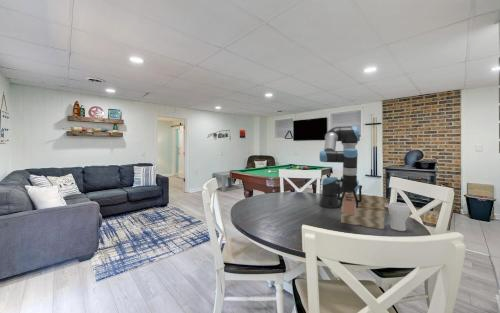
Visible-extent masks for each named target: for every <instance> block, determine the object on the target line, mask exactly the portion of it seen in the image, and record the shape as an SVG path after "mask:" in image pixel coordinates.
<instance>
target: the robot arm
mask: <svg viewBox="0 0 500 313" xmlns="http://www.w3.org/2000/svg"><path fill="white" fill-rule="evenodd" d="M324 140H325V141H324V142H325V143H324V148H323V150H320V151H319V161H320V162H322V163H339V164H340V163H341V164H342V176H340V179H339V178H338V177H333V176H331V177H324V178H323V179H322V183H321V185H322V187H321V190H322V191H321V192H322V193H321V199H320V201H319V205H320V206H321V207H322V208H326V209H338V208H340V207H341V206H342V212H343V198H344V195H345V193H353V194H354V197H355V201H356V202H355V208H354V214H356V208H358V203H359V202H362V195H361V194H362V189H363V185H362V184H359V183H360V182H359V180H358V154H359V153H358V149H357V148H356V146H357V145H358V142H360V140H361V137H360V129H359V127H358V126H351V125H350V126H335V127H332V128H331V129H329V130H328V131H327V132H326V133H325V134H324ZM337 142H341V143H340V144H341V145H342V146H343V147H342V148H343V149H342V150H336V149H337V148H336V146H337ZM342 192H343V194H342ZM356 194H359V200H358V198H357V195H356ZM339 201H340V202H339Z"/></svg>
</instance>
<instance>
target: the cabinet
mask: <svg viewBox="0 0 500 313" xmlns="http://www.w3.org/2000/svg"><path fill="white" fill-rule="evenodd" d="M354 208H355V199H354V196H352V195H345V198H344V200H343V214H349V215H354Z"/></svg>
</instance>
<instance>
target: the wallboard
mask: <svg viewBox="0 0 500 313" xmlns="http://www.w3.org/2000/svg"><path fill="white" fill-rule="evenodd" d="M342 194H343V192H342ZM342 194H341V195H342ZM345 195H352V196H354V194H353V193H345ZM345 195H344V198H345ZM356 195H357V198H358V200H359V193H357V194H356ZM361 195H362V202H359V203H358V208H356V214H354V215H349V214H343V212H342V206H340V223H341V224H342V223H343V224H348V225H354V226H355V225H356V226H360V225H361V226H362V227H368V228H375V229H379V230H380V229H381V230H384V229H385V210H386V209H385V198H386V197H385V196H383V195H372V194H362V193H361ZM344 198H343V200H344ZM354 199H355V197H354ZM355 202H356V201H355Z"/></svg>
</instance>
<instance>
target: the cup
mask: <svg viewBox="0 0 500 313" xmlns="http://www.w3.org/2000/svg"><path fill="white" fill-rule="evenodd" d="M387 210H388V211H387V212H388V213H389V217H390V219H391V223H390V229H392V230H394V231H398V232H399V231H400V232H404V231H407V227H406V222H407V219H408V218H409V216H410V213H411V209H410V205H409V204H407V203H404V202H399V201H398V202H397V201H392V202H389V204H388V208H387Z"/></svg>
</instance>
